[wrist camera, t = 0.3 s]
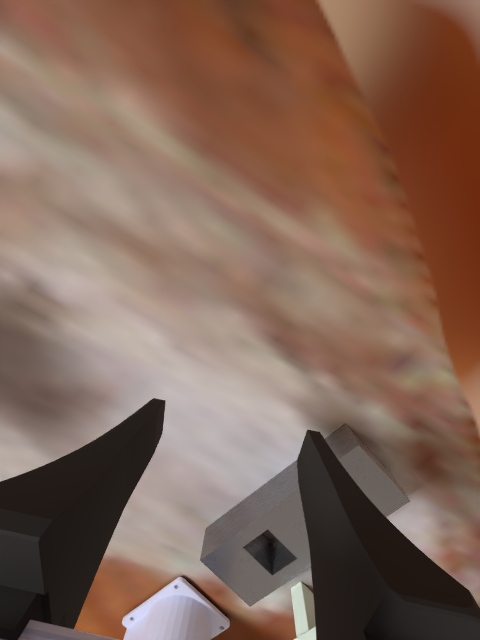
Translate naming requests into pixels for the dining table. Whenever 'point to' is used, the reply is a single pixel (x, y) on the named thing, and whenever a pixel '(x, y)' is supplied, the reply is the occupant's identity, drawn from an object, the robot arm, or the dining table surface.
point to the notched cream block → (303, 612)
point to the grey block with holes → (286, 523)
